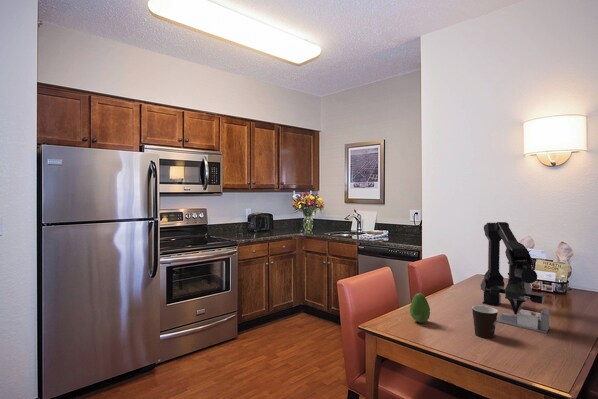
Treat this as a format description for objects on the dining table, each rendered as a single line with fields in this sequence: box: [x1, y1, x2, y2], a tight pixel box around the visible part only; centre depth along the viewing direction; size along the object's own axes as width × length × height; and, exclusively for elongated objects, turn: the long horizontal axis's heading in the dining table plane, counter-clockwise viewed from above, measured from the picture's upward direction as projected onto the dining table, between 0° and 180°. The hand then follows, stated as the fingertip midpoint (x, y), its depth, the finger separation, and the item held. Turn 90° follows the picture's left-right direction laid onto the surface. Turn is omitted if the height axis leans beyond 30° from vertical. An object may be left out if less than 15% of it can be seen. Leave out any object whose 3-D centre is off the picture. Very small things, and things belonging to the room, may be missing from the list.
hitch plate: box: [496, 307, 551, 334], centre depth 143 cm, size 18×8×9 cm, turn 46°
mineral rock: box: [525, 282, 533, 294], centre depth 189 cm, size 13×11×10 cm
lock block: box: [516, 308, 542, 330], centre depth 141 cm, size 7×6×6 cm
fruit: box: [409, 292, 431, 324], centre depth 145 cm, size 8×8×12 cm
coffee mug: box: [471, 305, 499, 340], centre depth 133 cm, size 12×9×10 cm
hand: (515, 314), depth 144 cm, fingers closed
